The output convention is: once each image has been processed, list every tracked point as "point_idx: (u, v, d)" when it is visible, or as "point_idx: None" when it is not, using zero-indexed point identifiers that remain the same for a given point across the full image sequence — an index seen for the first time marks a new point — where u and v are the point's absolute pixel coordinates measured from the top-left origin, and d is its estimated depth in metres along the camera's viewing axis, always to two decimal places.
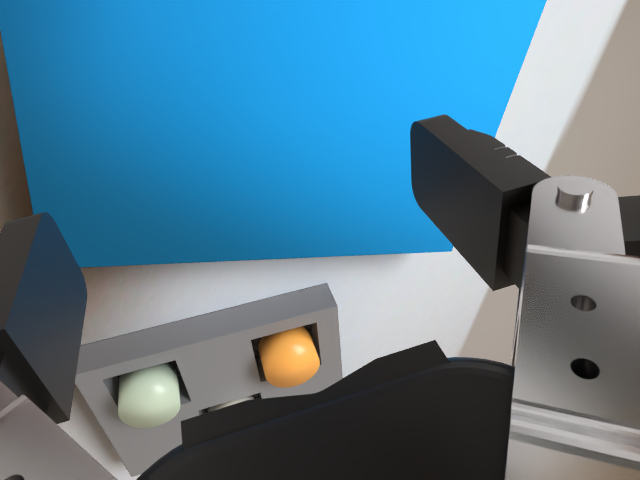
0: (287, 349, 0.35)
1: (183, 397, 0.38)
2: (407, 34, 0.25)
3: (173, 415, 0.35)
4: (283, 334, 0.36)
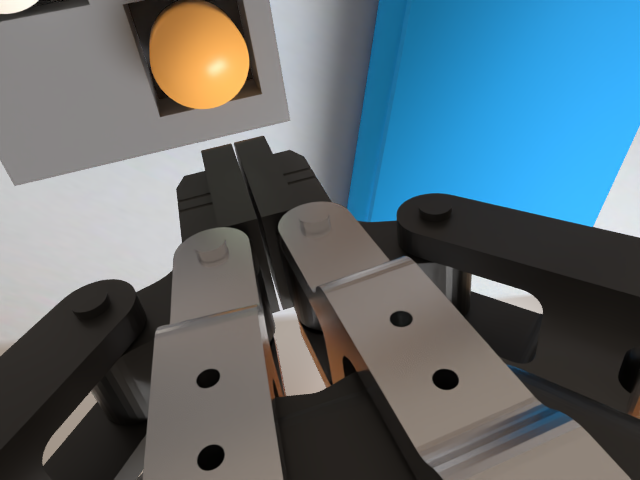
0: (246, 47, 0.21)
1: None
2: (602, 124, 0.29)
3: None
4: None
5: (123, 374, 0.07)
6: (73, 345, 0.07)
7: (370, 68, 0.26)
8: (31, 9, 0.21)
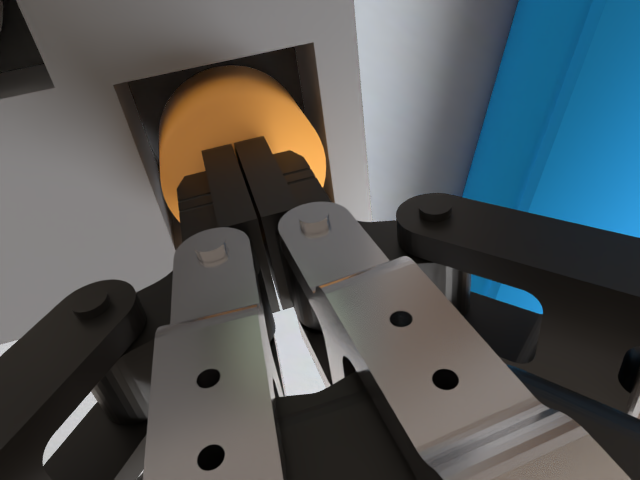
0: (322, 150, 0.13)
1: None
2: None
3: None
4: None
5: (123, 374, 0.07)
6: (73, 345, 0.07)
7: (484, 155, 0.17)
8: None
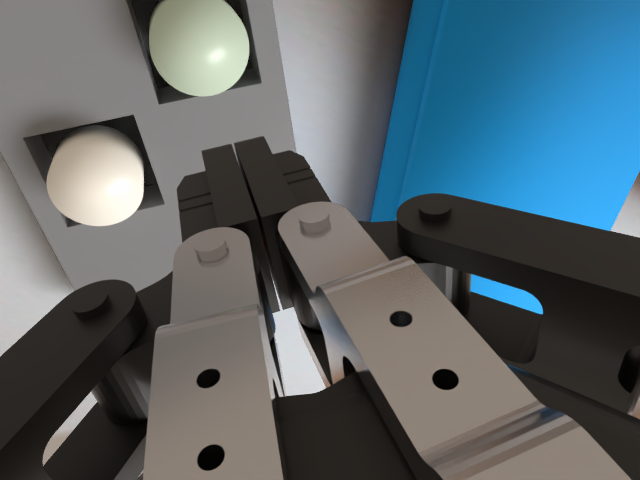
0: None
1: (154, 88, 0.23)
2: None
3: (176, 84, 0.21)
4: None
5: (123, 374, 0.07)
6: (73, 345, 0.07)
7: (372, 221, 0.32)
8: None
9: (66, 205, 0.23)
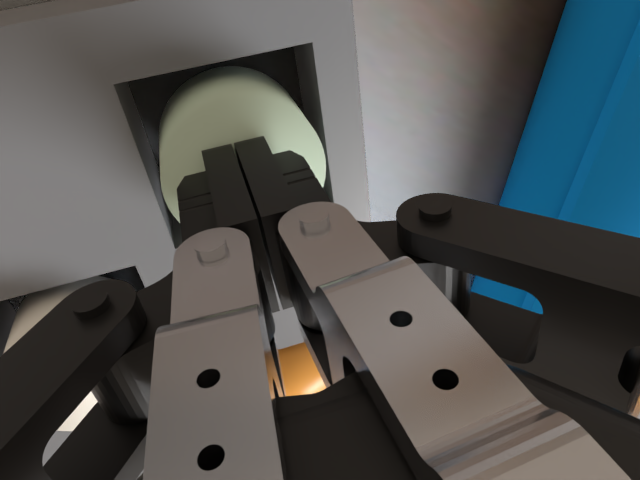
0: None
1: (168, 222, 0.15)
2: None
3: None
4: None
5: (123, 374, 0.07)
6: (73, 345, 0.07)
7: None
8: None
9: None
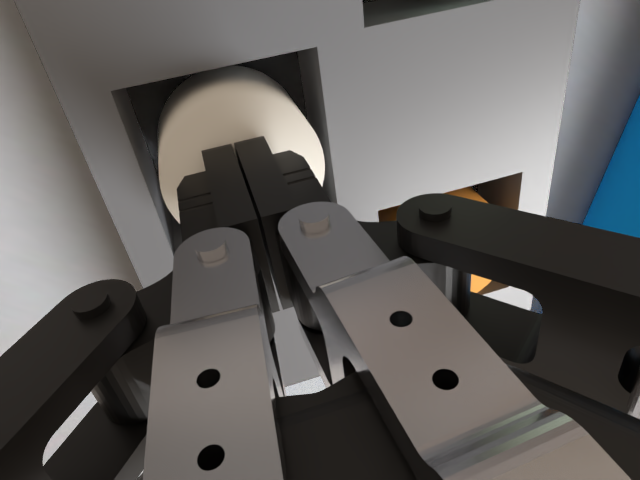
0: None
1: None
2: None
3: None
4: None
5: (123, 374, 0.07)
6: (73, 345, 0.07)
7: None
8: None
9: None
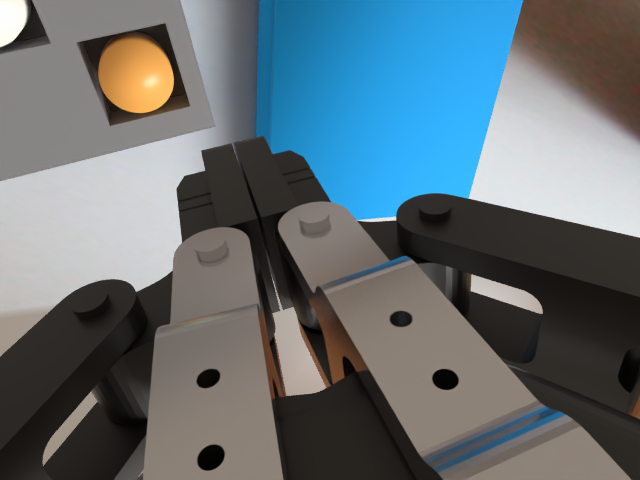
0: None
1: None
2: (455, 124, 0.36)
3: None
4: (169, 61, 0.30)
5: (123, 374, 0.07)
6: (74, 345, 0.07)
7: (257, 86, 0.33)
8: (6, 46, 0.28)
9: None
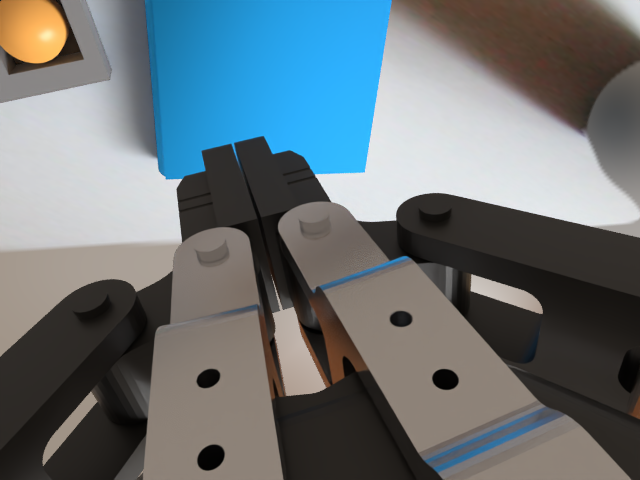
0: (61, 21, 0.32)
1: None
2: (343, 87, 0.39)
3: None
4: (64, 17, 0.33)
5: (123, 374, 0.07)
6: (73, 345, 0.07)
7: (149, 44, 0.36)
8: None
9: None
